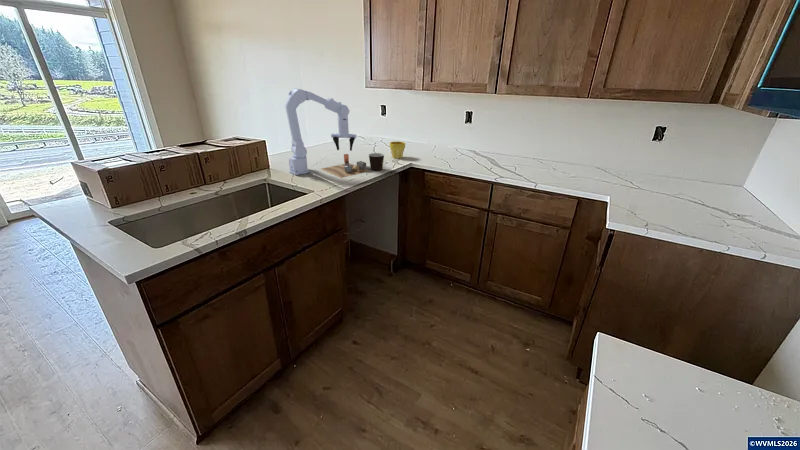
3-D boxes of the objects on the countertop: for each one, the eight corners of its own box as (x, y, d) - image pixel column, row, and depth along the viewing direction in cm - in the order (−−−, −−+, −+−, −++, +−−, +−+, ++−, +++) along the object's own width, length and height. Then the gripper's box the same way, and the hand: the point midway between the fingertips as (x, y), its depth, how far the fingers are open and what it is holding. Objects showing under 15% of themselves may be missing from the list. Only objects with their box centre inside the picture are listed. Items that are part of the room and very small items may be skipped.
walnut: (355, 172, 186) (355, 166, 184) (351, 171, 188) (351, 164, 187) (360, 171, 188) (360, 165, 187) (357, 169, 191) (356, 163, 189)
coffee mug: (378, 175, 187) (378, 157, 183) (366, 172, 191) (365, 155, 187) (389, 170, 196) (389, 153, 192) (377, 168, 200) (377, 151, 196)
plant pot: (396, 154, 231) (396, 140, 227) (408, 157, 226) (408, 142, 221) (386, 157, 224) (386, 142, 220) (398, 160, 218) (398, 145, 214)
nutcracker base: (341, 180, 177) (340, 169, 175) (320, 171, 192) (319, 161, 189) (371, 173, 190) (370, 163, 187) (349, 165, 204) (348, 155, 202)
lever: (352, 172, 184) (351, 161, 182) (345, 173, 184) (344, 161, 181) (349, 164, 200) (349, 153, 198) (343, 164, 199) (342, 154, 197)
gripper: (357, 125, 195) (357, 149, 201) (332, 125, 196) (334, 148, 202) (354, 127, 189) (355, 151, 194) (329, 127, 189) (331, 150, 195)
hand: (344, 150), depth 198 cm, fingers open, 7 cm apart
